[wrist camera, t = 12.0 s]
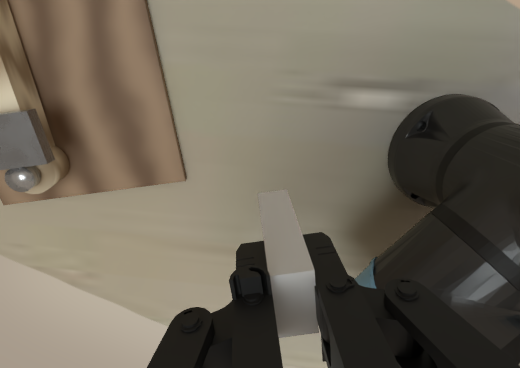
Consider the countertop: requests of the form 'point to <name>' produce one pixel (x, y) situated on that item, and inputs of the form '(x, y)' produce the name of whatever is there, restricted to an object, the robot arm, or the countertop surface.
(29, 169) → the pintle
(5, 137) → the block
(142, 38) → the base plate
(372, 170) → the countertop surface
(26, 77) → the link
